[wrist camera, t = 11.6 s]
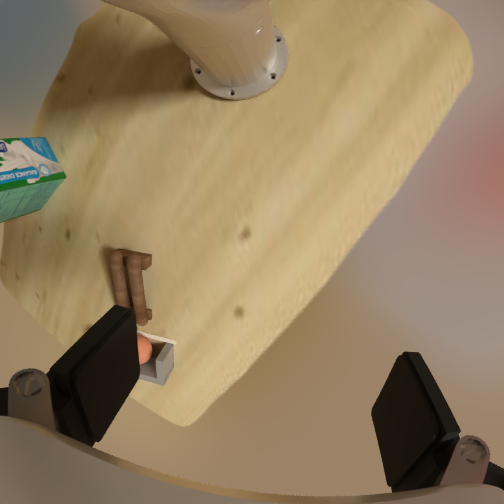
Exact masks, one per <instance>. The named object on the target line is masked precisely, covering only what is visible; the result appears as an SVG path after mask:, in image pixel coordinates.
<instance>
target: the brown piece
mask: <svg viewBox="0 0 504 504" xmlns="http://www.w3.org/2000/svg"><path fill="white" fill-rule="evenodd" d="M109 263H110V269H111V275H112V281H113V286H114V291H115V296H116V301H117V305H119V306H123V307H127V308H130V309H131V310H132V313H134V314H135V315H136V322H137V324H138V325H140V326H145V325H146V324H147V323H148V320H151V319H152V310H151V309H147V308H146V301H145V294H144V286H143V278H142V270H146V269H147V268H148V267H150V266H151V265H152V255H151V254H146V253H140V252H135V251H129V250H124V249H118V250H113V251H111V252H110V254H109ZM124 266H126V267H127V269H128V276H129V283H130V289H131V295H132V301H133V305H130V304H129V298H128V292H127V286H126V280H125V273H124Z"/></svg>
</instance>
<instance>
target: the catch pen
mask: <svg viewBox="0 0 504 504" xmlns="http://www.w3.org/2000/svg"><path fill="white" fill-rule="evenodd" d="M173 368H174V355H173V344H171V343H166V344H165V346H164V347H163V349H162V351H161V352H160V354H159V355H158V357H157V358H155V357H150V359H149V360H148V361H147V362H145V363H143V364H140V377H139V379H142V380H146V381H149V382H153V383H156V384H160V385H163V386H164V385H165V383H166V381H167V379H168V378H169V376H170V374H171V372H172V370H173Z"/></svg>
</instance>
